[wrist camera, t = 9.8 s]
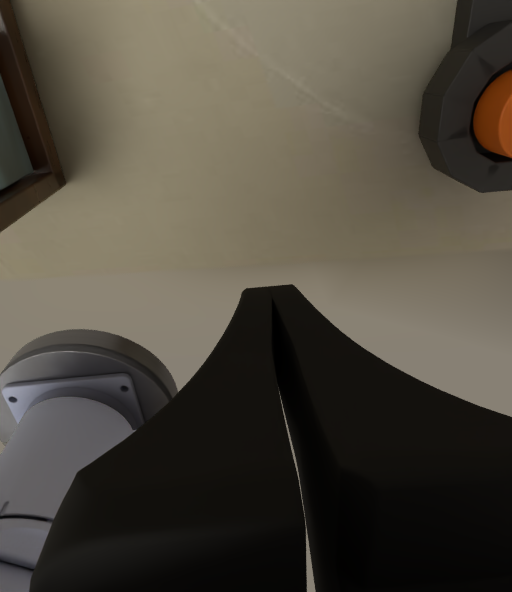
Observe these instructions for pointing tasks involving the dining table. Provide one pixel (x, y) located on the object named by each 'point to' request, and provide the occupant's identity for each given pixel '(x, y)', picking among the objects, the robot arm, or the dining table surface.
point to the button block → (468, 96)
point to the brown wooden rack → (22, 131)
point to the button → (495, 116)
